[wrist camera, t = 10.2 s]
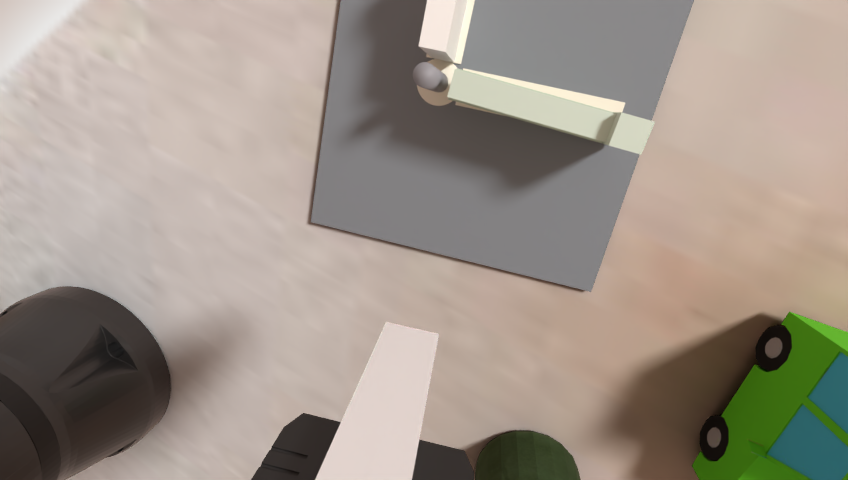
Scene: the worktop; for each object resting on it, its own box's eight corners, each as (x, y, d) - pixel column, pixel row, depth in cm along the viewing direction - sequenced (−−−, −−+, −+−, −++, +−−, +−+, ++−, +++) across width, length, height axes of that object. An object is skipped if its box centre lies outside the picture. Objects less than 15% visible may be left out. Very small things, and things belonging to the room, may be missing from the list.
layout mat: (313, 220, 32) (310, 222, 32) (357, -101, 26) (354, -106, 26) (589, 289, 31) (591, 292, 30) (704, -37, 25) (708, -41, 24)
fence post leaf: (424, 89, 29) (404, 83, 22) (451, -49, 26) (438, -99, 20) (451, 95, 29) (439, 91, 22) (481, -44, 26) (477, -92, 20)
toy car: (666, 451, 33) (734, 587, 24) (762, 298, 29) (891, 389, 20) (800, 501, 33) (925, 661, 23) (917, 353, 29) (1127, 473, 19)
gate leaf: (454, 100, 28) (444, 98, 22) (462, 74, 27) (454, 65, 22) (611, 145, 27) (641, 154, 22) (621, 119, 27) (655, 121, 21)
